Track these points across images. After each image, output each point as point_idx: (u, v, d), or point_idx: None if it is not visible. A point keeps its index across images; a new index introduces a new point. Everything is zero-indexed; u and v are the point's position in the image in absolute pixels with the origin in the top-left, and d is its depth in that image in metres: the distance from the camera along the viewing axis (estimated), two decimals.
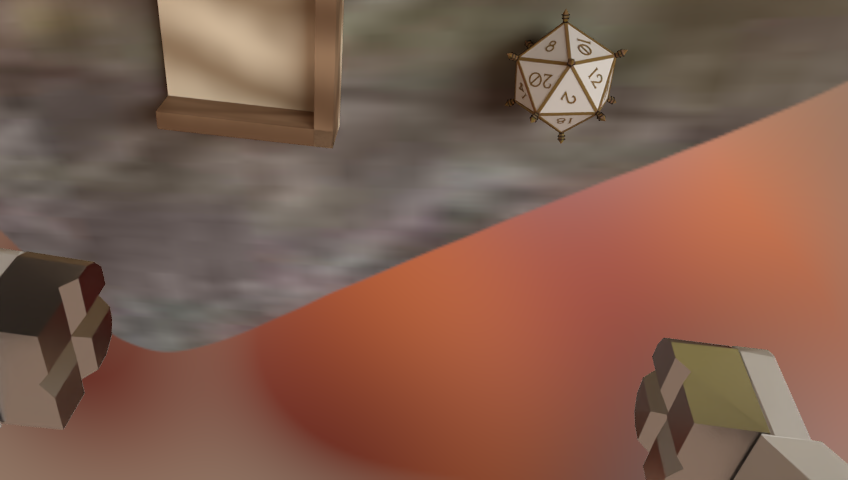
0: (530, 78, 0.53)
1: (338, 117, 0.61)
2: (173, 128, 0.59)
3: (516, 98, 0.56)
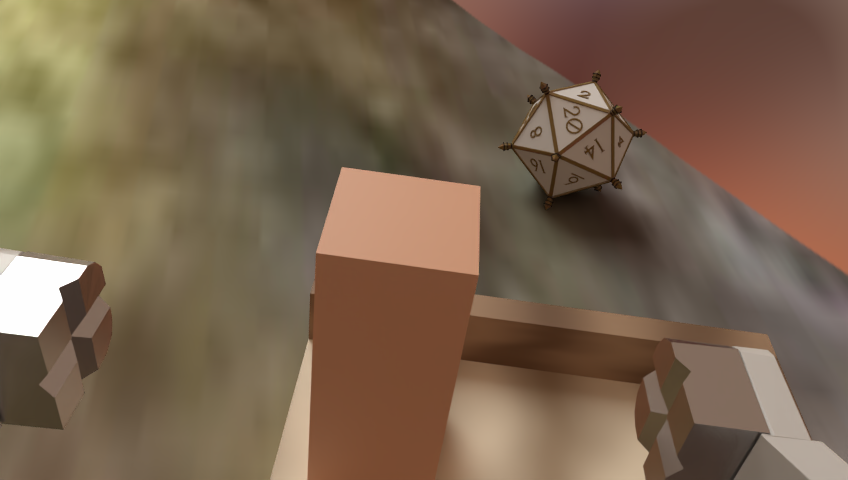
0: (574, 132, 0.46)
1: None
2: None
3: (608, 173, 0.47)
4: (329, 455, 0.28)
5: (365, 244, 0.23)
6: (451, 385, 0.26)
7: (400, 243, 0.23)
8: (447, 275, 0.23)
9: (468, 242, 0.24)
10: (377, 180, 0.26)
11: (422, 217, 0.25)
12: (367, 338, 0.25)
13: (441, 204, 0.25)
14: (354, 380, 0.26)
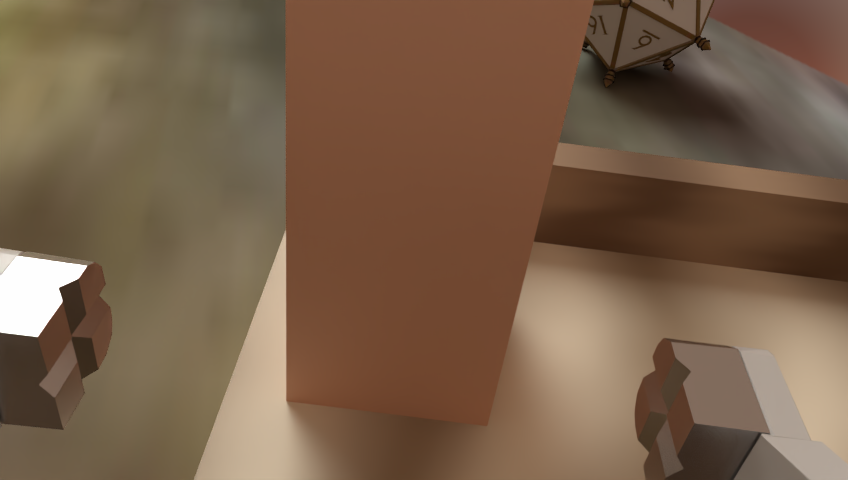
0: None
1: None
2: None
3: (691, 29, 0.36)
4: (322, 344, 0.17)
5: None
6: (539, 191, 0.14)
7: None
8: None
9: None
10: None
11: None
12: (388, 88, 0.13)
13: None
14: (363, 186, 0.14)
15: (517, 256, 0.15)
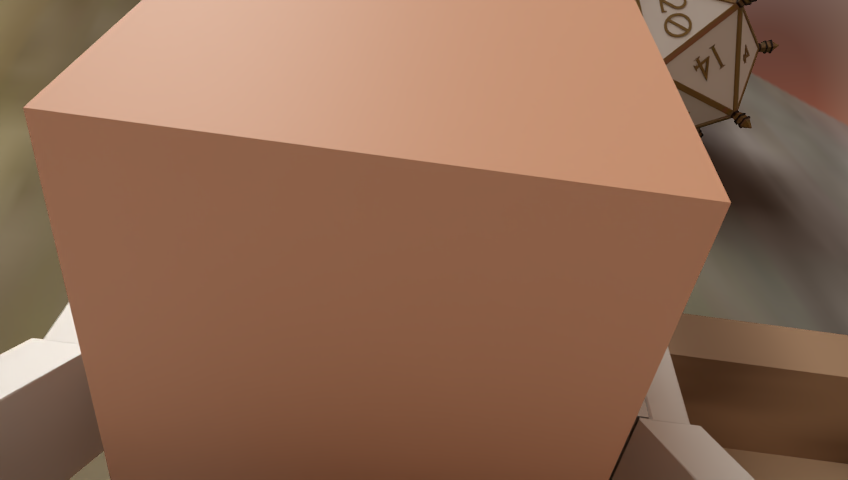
0: (679, 36, 0.29)
1: None
2: None
3: (728, 102, 0.30)
4: None
5: (252, 90, 0.06)
6: None
7: (395, 90, 0.06)
8: (591, 205, 0.05)
9: (642, 96, 0.06)
10: None
11: (468, 29, 0.07)
12: (285, 442, 0.07)
13: (524, 5, 0.08)
14: None
15: None
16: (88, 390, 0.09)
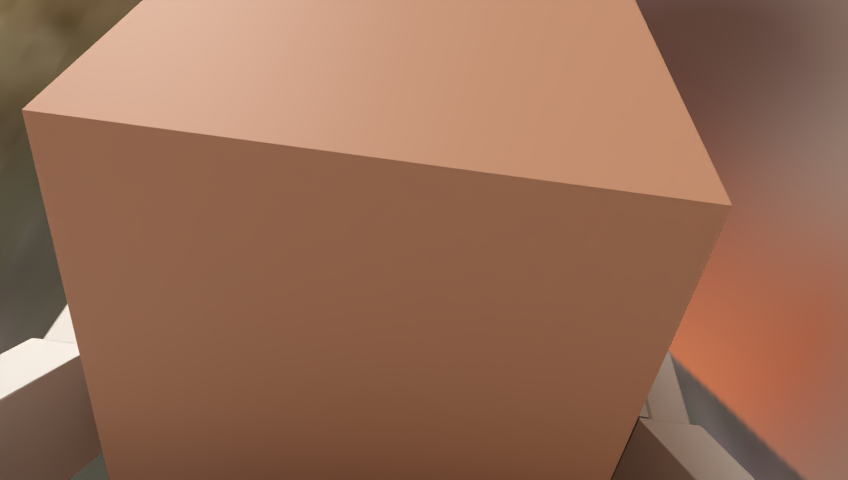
0: None
1: None
2: None
3: None
4: None
5: (253, 92, 0.06)
6: None
7: (395, 93, 0.06)
8: (593, 207, 0.05)
9: (643, 98, 0.06)
10: None
11: (468, 30, 0.07)
12: (284, 445, 0.07)
13: (524, 7, 0.08)
14: None
15: None
16: None
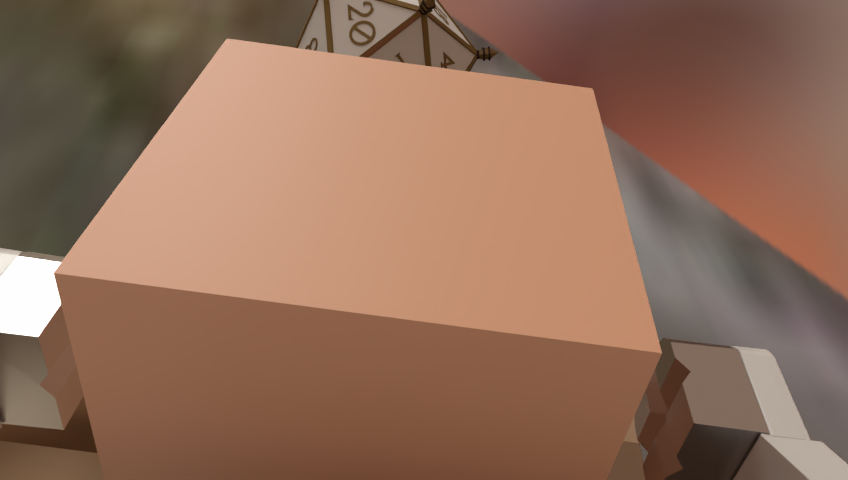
0: (362, 43, 0.28)
1: None
2: None
3: None
4: None
5: (251, 243, 0.07)
6: None
7: (375, 236, 0.07)
8: (544, 352, 0.06)
9: (595, 232, 0.07)
10: (317, 68, 0.10)
11: (444, 158, 0.08)
12: None
13: (497, 127, 0.09)
14: None
15: None
16: None
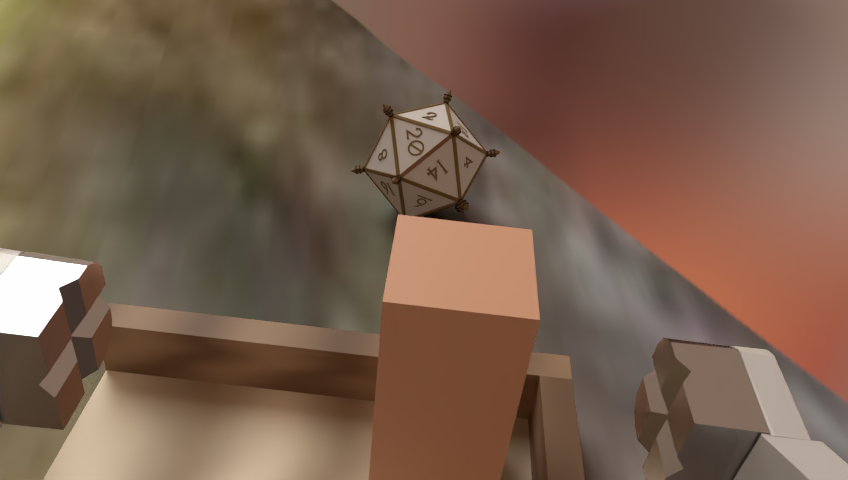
0: (416, 154, 0.46)
1: None
2: None
3: (454, 194, 0.47)
4: None
5: (428, 292, 0.24)
6: (510, 425, 0.26)
7: (462, 289, 0.24)
8: (509, 320, 0.23)
9: (526, 286, 0.25)
10: (433, 227, 0.27)
11: (480, 262, 0.25)
12: (430, 381, 0.25)
13: (496, 249, 0.26)
14: (415, 421, 0.27)
15: (499, 453, 0.27)
16: None
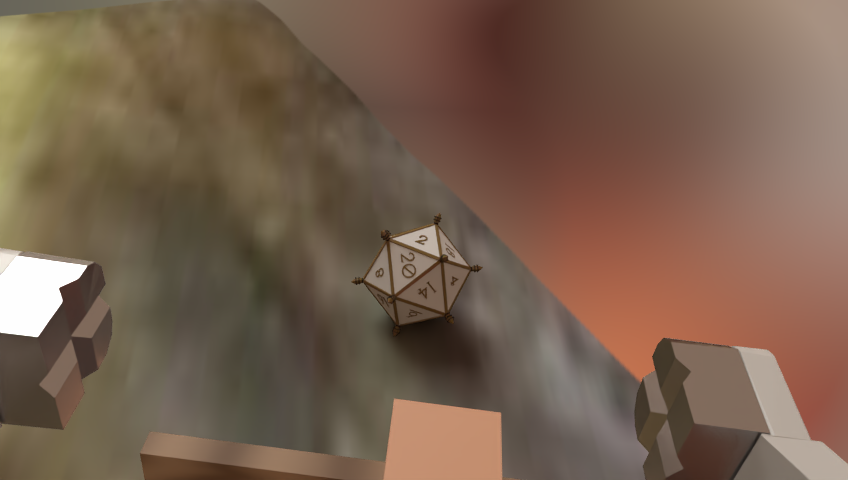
0: (409, 277, 0.52)
1: None
2: None
3: (441, 309, 0.54)
4: None
5: None
6: None
7: (443, 478, 0.31)
8: None
9: (493, 474, 0.32)
10: (422, 412, 0.34)
11: (458, 449, 0.32)
12: None
13: (472, 434, 0.33)
14: None
15: None
16: None
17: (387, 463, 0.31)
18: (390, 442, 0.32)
